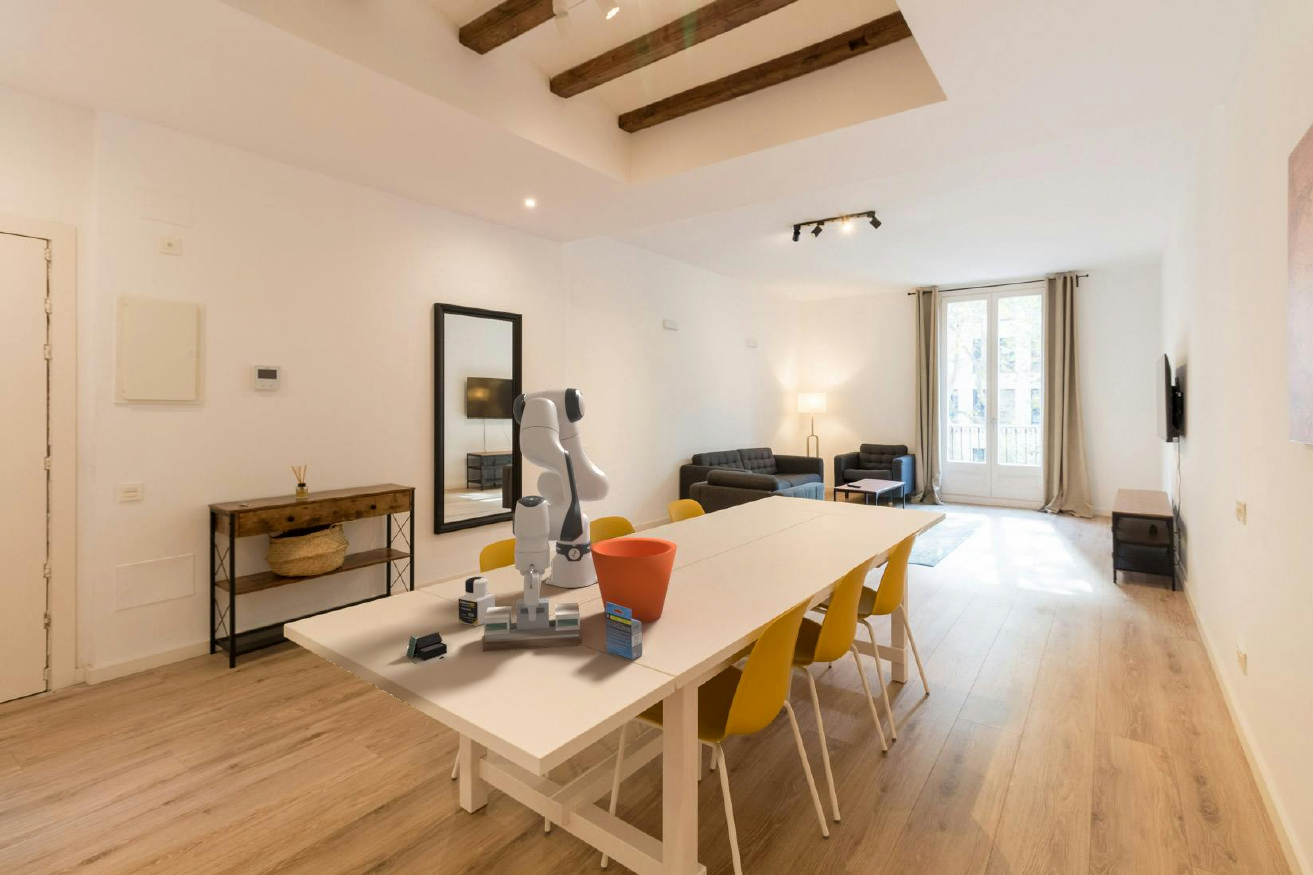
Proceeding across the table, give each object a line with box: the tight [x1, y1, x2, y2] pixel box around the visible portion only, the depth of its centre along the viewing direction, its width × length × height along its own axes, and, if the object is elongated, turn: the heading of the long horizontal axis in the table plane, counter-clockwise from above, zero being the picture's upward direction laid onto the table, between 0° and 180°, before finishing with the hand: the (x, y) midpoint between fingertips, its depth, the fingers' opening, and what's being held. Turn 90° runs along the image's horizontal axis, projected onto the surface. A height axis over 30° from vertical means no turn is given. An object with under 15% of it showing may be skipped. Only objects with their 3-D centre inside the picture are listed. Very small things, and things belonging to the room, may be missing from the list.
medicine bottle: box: [458, 576, 496, 627], centre depth 173 cm, size 7×7×12 cm
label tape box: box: [605, 602, 643, 661], centre depth 150 cm, size 9×4×12 cm, turn 49°
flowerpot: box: [590, 536, 678, 625], centre depth 178 cm, size 25×25×20 cm
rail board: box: [481, 602, 582, 652], centre depth 159 cm, size 12×24×8 cm, turn 99°
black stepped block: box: [406, 631, 452, 663], centre depth 150 cm, size 15×15×6 cm
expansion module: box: [515, 597, 550, 631], centre depth 158 cm, size 4×8×8 cm, turn 100°
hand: (533, 613), depth 159 cm, fingers open, 8 cm apart
